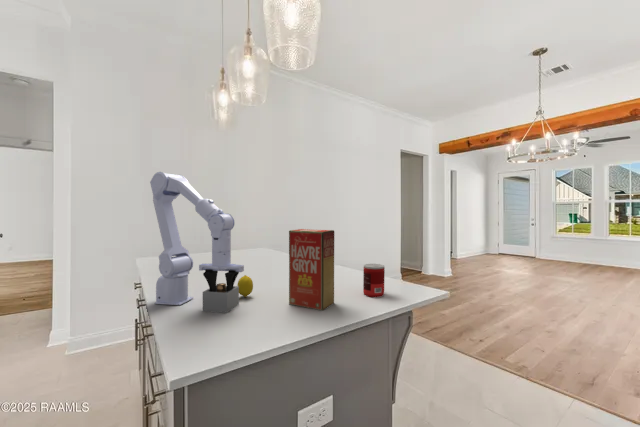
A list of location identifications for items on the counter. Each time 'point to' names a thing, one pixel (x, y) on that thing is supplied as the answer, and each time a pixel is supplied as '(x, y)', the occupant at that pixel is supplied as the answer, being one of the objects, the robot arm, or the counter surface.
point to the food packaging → (311, 268)
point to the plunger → (221, 287)
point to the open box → (220, 300)
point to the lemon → (245, 285)
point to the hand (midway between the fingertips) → (221, 293)
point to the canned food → (373, 280)
